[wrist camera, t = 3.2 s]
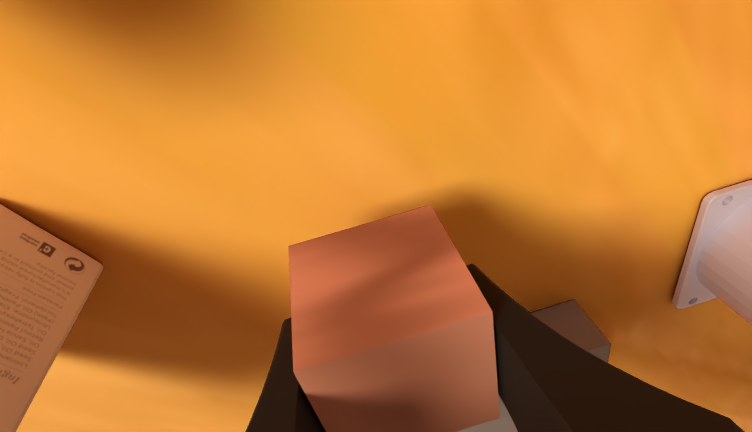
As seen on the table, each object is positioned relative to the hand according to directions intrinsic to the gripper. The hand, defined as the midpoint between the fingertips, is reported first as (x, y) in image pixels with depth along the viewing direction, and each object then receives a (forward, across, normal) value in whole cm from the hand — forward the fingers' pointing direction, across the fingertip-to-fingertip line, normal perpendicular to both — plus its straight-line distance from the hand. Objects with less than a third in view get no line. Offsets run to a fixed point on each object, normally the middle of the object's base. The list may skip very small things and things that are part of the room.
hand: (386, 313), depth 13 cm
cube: (+2, 0, 0) cm, 2 cm away
